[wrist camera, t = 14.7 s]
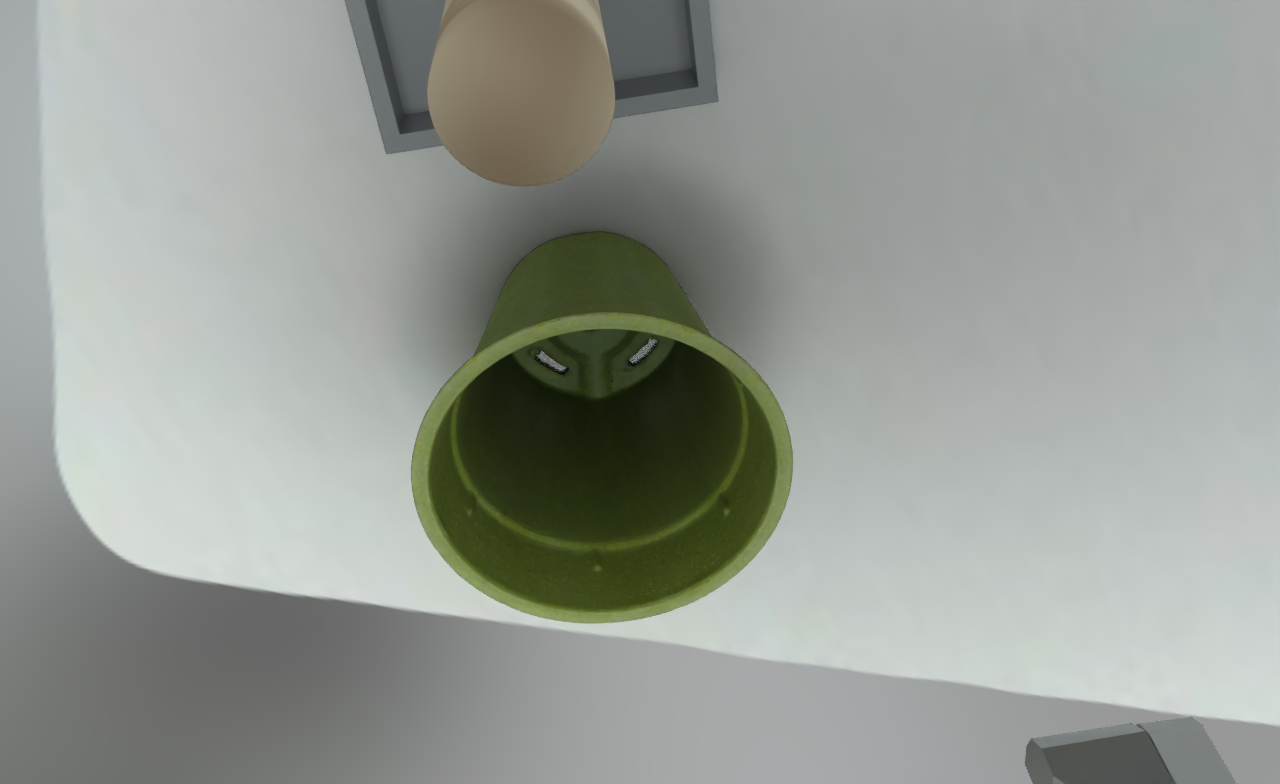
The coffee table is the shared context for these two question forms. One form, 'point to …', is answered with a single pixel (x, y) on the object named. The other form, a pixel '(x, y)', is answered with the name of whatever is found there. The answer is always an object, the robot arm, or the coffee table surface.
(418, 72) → the tray
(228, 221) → the coffee table surface
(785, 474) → the plant pot
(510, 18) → the dowel
